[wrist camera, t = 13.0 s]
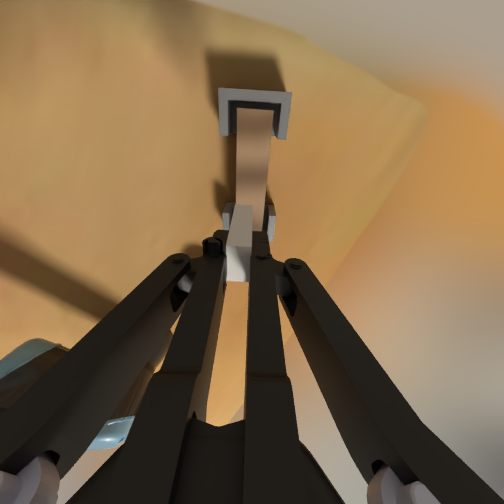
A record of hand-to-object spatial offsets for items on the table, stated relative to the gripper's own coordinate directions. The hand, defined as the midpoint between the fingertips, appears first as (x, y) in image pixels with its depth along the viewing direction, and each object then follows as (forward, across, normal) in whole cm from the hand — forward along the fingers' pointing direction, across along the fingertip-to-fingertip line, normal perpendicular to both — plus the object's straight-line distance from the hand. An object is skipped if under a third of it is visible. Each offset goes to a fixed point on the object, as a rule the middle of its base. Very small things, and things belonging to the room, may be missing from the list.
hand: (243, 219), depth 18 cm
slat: (+16, -1, -1) cm, 16 cm away
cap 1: (+16, 0, -8) cm, 18 cm away
